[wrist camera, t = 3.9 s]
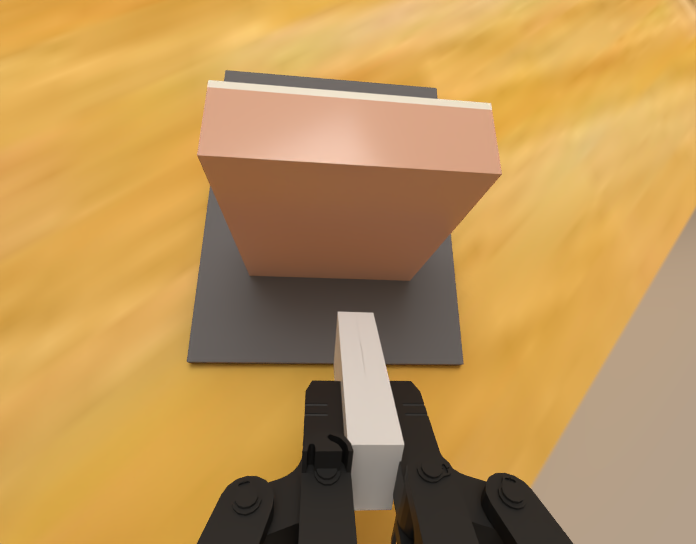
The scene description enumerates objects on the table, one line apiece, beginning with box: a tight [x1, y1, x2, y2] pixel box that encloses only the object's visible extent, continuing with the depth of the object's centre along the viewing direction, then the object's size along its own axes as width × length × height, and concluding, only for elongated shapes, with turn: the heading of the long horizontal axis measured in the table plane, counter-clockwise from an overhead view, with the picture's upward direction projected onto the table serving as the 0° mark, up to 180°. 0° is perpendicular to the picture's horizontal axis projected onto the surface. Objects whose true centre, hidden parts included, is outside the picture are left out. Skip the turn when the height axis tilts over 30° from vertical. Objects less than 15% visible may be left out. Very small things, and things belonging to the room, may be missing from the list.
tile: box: [197, 80, 502, 281], centre depth 19 cm, size 10×3×12 cm, turn 90°
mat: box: [187, 70, 463, 365], centre depth 26 cm, size 16×21×1 cm
